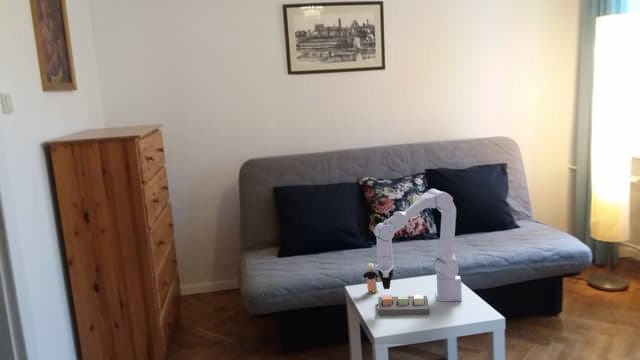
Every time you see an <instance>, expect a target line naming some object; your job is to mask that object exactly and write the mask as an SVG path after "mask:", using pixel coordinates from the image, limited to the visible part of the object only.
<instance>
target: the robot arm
mask: <svg viewBox="0 0 640 360" xmlns="http://www.w3.org/2000/svg"><path fill="white" fill-rule="evenodd" d="M453 200H454V198H453V196H452V195H450V194H449V193H447V192H446V191H442V190H441V191H440V190H438V189H436V188H430V189H428V190H427V191H426V192H424V193H423V194H422V195H421V196H420V198H418V199H417V200H416V201H414V202H413V203H412V204H411V205H410V206H408V207H407V208H406V209H405V210H404V211H401V210H399V211H395V212H393V213H392V214H393V215H391V216H390V217H389V218H387V219H384V220H383V222H379V223H378V224H376V225H375V227H374V229H373V234H374V236H375V237H376V253H377V264H376V265H375V264H374V269H378V270H377V271H378V273H377V275H378V276H379V279H380V281H381V284H382V287H383V290H390V288H391V283H392V282H391V281H392V278H393V275H394V267H395V266H394V259H393V257H394V256H393V240H392V239H393V238H394V237H395V233H397V232H398V231H399V230H401V229H403V228H404V227H405V226H406V225H408V224H409V220H410V219H411V218H412V217H414V216H415V215H417V214H419V213H420V212H422V211H423V210H425V209H437V210H438V211H439V212H440V213H441V220H440V233H439V235H440V236H439V247H438V248H439V251H438V252H437V253H436V254H435V259H434V261H433V263H432V267H433V270H434V271H435V273H436V292H435V298H436V301H437V302H462V301H463V299H462V295H463V294H462V293H463V292H462V279H461V276H460V275H459V274H458V273H459V266H458V259H457V258H456V256H455V254H454V247H455V236H456V235H455V233H456V219H457V207H456V205H455V203H454V201H453Z"/></svg>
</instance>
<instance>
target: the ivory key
mask: <svg viewBox="0 0 640 360" xmlns="http://www.w3.org/2000/svg"><path fill="white" fill-rule="evenodd" d="M413 296H414V305H424V297H423V296H424V294H413Z"/></svg>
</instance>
